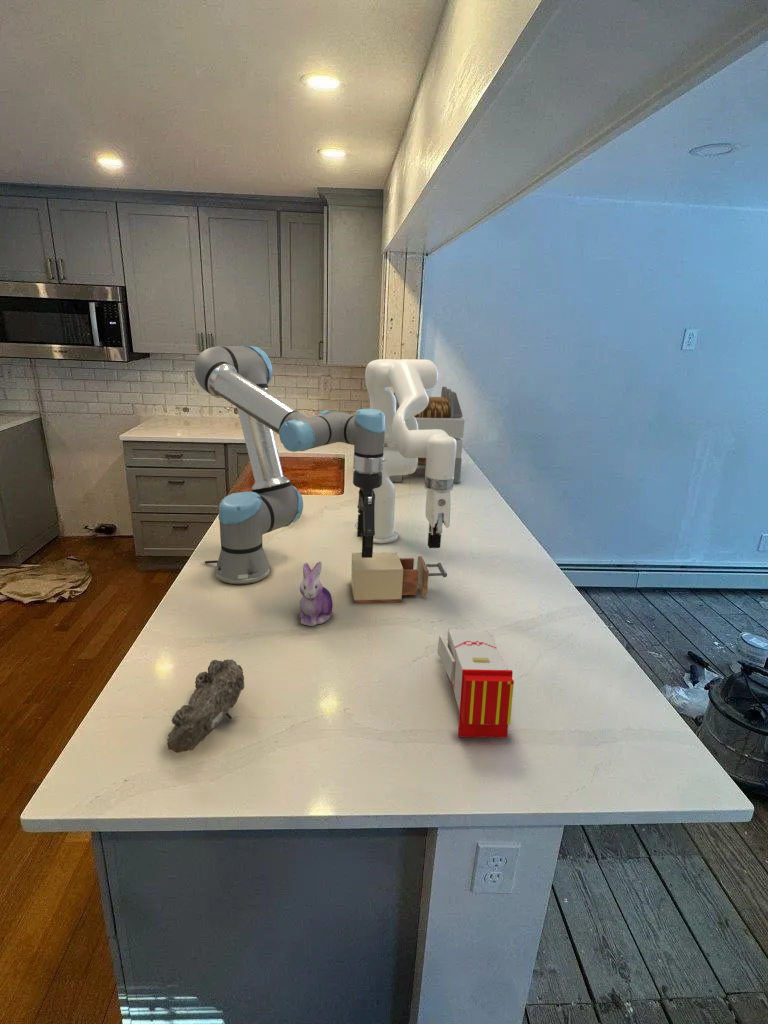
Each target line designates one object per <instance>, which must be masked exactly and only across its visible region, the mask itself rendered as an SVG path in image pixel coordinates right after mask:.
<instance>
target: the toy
mask: <svg viewBox="0 0 768 1024" xmlns="http://www.w3.org/2000/svg"><path fill="white" fill-rule="evenodd" d="M446 640H447V643H446V641H445V639H444V636H443V635H442V634H439V637H438V646H437V656H438V657H439V659H440V661H441V663H442V666H443V668H444V670H445V672H446V674H447V677H448V679H449V681H450V684H451V687H452V690H453V693H454V697H455V701H456V705H457V708H458V711H459V714H458V715H459V716H458V730H457V731H458V732H457V737H458V738H508V731H509V726H510V725H511V717H512V707H513V697H514V696H513V695H514V684H515V680H514V679H513V673H514V671H513V670H512V669H508V667H507V665H506V662H505V661H504V659H503V658H502V655H501V653H500V651H499V649H498V647H497V643H496V639H495V637H494V635H493V634H491V632H490V631H489V629H467V628H466V629H465V628H463V629H461V628H460V629H459V628H448V630H447V639H446Z"/></svg>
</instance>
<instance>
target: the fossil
mask: <svg viewBox="0 0 768 1024" xmlns="http://www.w3.org/2000/svg"><path fill="white" fill-rule="evenodd" d="M243 670H244V669H243V667H242V665H240V664H237V662H236V661H235V660H234V659H232V658H231V659H227V658H226V659H224V660H223V661H222V660H217V659H212V660H211V661H210V663H209V665H208V666H207V671H201V672H199V673H198V674H197V675H196V676H195V680H194V684H195V685H194V687H195V689H194V690H193V693H192V694H191V697H190V698H189V700H188V704H184V705H182V706H181V707H180V709H177V710H176V711H175V713H174V715H173V716H172V718H171V723H172V724H173V727H172V730H171V731H170V732H168V734H167V738H166V741H167V742H166V745H167V749H168V750H169V751H173V752H174V753H176V754H178V753H182V752H188V751H189V752H192V751H193V750H195V748H196V747H197V746H199V744H200V743H201V742H203V741H204V740H205V739H206V738H207V737H208V736H209V735H210V734H211V733H212V732H214V730H215V729H217V727H218V726H219V724H220V722H221V721H222V720H223V719H224V718H225V716H226V717H227V719H229V720H233V717H232V715H230V714H229V710H230V709H231V708H234V706H235V704H236V703H237V702H238V699H239V697H240V695H241V693H242V691H243V690H245V689H244V688H245V675H244V671H243Z"/></svg>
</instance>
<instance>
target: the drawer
mask: <svg viewBox="0 0 768 1024" xmlns="http://www.w3.org/2000/svg"><path fill="white" fill-rule="evenodd" d="M399 559H400V562H401V564H402V567H403V582H402V596H418V589H419V591H420V595H421V597H422V598H427V597H428V588H429V587H428V586H429V577H442V578H447V577H448V572H447V571H446V569H445V567H444V565H443V563H442V562H437V563H426V561H425V559H424V558H423V556H422V555H418V556H417V562H416V563H417V566H416V569H415V568H414V565H415V558H414V557H401V558H400V557H399ZM429 568H438V571H439V572H430V570H429Z"/></svg>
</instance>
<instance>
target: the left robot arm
mask: <svg viewBox="0 0 768 1024" xmlns="http://www.w3.org/2000/svg"><path fill="white" fill-rule="evenodd" d="M193 371H194V372H193V373H194V377H195V380H196V381H197V384H198V385H199V386H200V387H201V389H203V390H204V391H205V392H206V393H208V394H209V395H211V396H212V397H214V398H217V399H223V400H225V401H227V402H229V403H230V404H231V405H233V406H235V407H236V410H237V414H238V418H239V423H240V426H241V430H242V434H243V438H244V442H245V447H246V450H247V454H248V459H249V463H250V467H251V471H252V474H253V479H254V483H253V485H252V487H251V491H248V490H247V491H246V490H245V491H242V492H240V491H237V492H234V493H231V494H230V493H229V494H228V495H226V496H225V497H224V498H222V499H221V500H220V502H219V504H218V517H217V518H218V520H219V536H220V537H219V540H220V552H219V554H218V555H219V556H218V559H217V560H205V561H204V564H216V566H215V576H216V579H218V581H221V582H223V583H225V584H231V585H250V584H254V583H257V582H260V581H262V580H264V579H266V578H267V577H268V576H269V575H270V572H271V569H270V567H271V566H270V563H269V560H268V558H267V555H266V553H265V550H264V546H263V535H265V534H268V533H271V532H273V531H275V530H279V529H281V528H285V527H286V528H287V527H289V526H290V525H292V524H294V523H296V522H297V521H298V520H300V517H301V516H302V514H303V511H304V499H303V496H302V494H301V492H300V491H299V490H298V488H297V487H295V486H294V485H292V484H291V479H290V478H288V477H286V476H285V475H284V471H283V467H282V463H281V459H280V455H279V450H278V446H277V442H276V437H275V434H274V433H276V434H277V435H279V436H278V438H279V441H280V443H281V444H282V445H283V447H284V448H285V449H286V450H287V451H289V452H292V453H295V452H306V451H308V450H311V449H315V448H320V447H323V446H328V445H332V444H337V443H343V444H347V445H351V446H353V463H352V464H353V466H352V467H353V469H354V470H353V473H352V484H353V486H354V487H355V488H359V490H358V499H357V500H358V501H357V509H358V510H357V522H358V529H356V530H357V532H356V537H357V538H361V539H362V540H361V553H362V558H372V553H374V552H373V551H374V543H373V536H374V535H375V514H374V508H375V494H374V491H373V489H375V488H379V487H380V486H381V485H382V472H381V471H382V469H383V463H382V462H385V458H383V449H384V438H385V430H386V427H385V414H384V413H383V412H382V411H380V410H376V409H370V408H360V409H357V410H356V412H355V414H352V413H351V414H350V413H346V412H341V411H339V410H330V409H325V410H322V411H321V412H320V413H319V414H317V415H313V416H307V415H305V414H304V413H302V412H300V411H299V410H297V409H295V408H294V407H293V406H290V405H288V403H285V402H284V401H282V400H281V399H279V398H277V397H276V396H274V395H273V394H271V393H270V392H268V391H269V385H268V384H269V383H270V382H271V380H272V375H273V365H272V362H271V359H270V358H269V356H268V355H267V353H266V352H265V351H264V350H262V349H261V348H260V347H257V346H255V345H245V344H243V345H232V346H231V345H227V346H212V347H208V348H205V349H204V350H203V351H201V352H200V353H199V354H198V356H197V358H196V359H195V362H194V367H193Z"/></svg>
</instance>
